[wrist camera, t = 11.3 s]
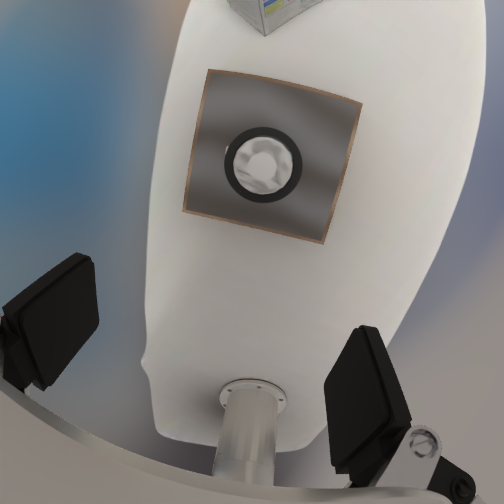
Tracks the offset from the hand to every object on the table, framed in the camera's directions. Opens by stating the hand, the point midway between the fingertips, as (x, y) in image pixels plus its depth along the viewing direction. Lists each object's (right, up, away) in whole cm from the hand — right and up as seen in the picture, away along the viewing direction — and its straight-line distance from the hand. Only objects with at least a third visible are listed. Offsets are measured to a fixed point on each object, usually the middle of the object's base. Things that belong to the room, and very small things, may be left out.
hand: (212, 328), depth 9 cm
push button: (+2, +12, +18) cm, 22 cm away
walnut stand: (+3, +14, +21) cm, 25 cm away
